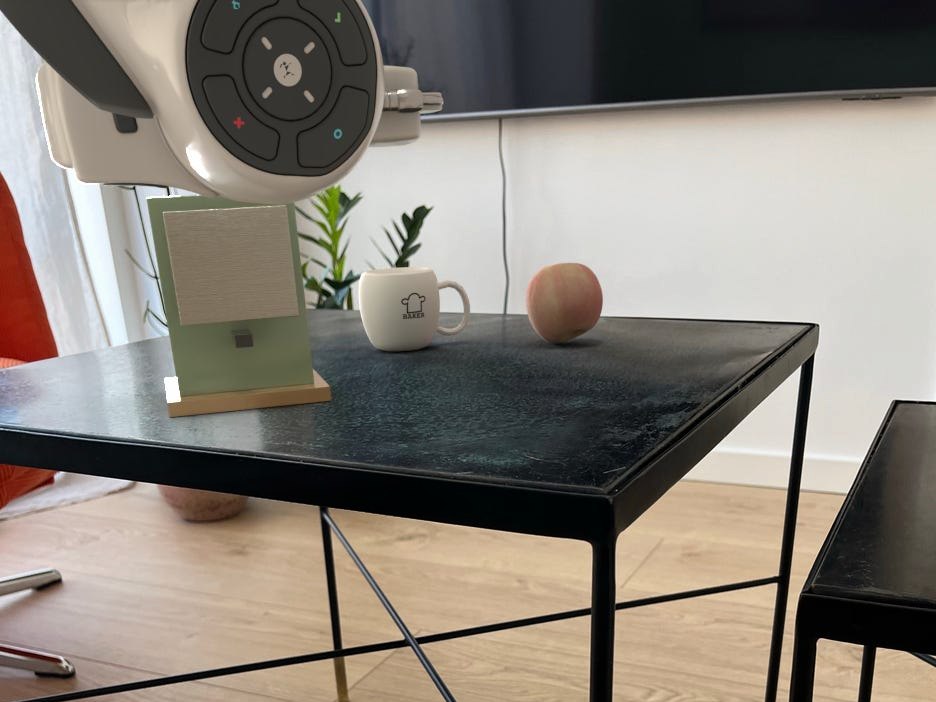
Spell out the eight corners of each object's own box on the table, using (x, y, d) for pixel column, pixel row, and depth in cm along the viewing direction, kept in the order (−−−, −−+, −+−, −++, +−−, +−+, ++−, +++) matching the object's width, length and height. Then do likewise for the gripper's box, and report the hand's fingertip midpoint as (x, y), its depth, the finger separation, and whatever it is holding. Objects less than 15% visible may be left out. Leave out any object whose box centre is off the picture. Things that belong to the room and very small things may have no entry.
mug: (373, 357, 104) (366, 276, 100) (355, 346, 111) (348, 270, 108) (484, 346, 107) (480, 267, 104) (459, 336, 114) (455, 262, 111)
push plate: (299, 316, 80) (286, 205, 76) (181, 325, 77) (162, 212, 74) (297, 314, 81) (284, 205, 77) (180, 323, 78) (162, 211, 75)
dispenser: (333, 403, 83) (311, 189, 76) (170, 420, 80) (131, 198, 73) (311, 377, 94) (289, 190, 88) (167, 391, 91) (133, 198, 85)
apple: (611, 338, 108) (612, 258, 105) (587, 350, 102) (587, 265, 98) (542, 337, 111) (540, 259, 108) (514, 348, 105) (512, 266, 101)
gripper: (449, 27, 51) (390, 60, 63) (12, 33, 46) (40, 67, 58) (456, 166, 53) (398, 171, 65) (43, 186, 48) (64, 188, 60)
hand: (227, 122), depth 62 cm, fingers closed
